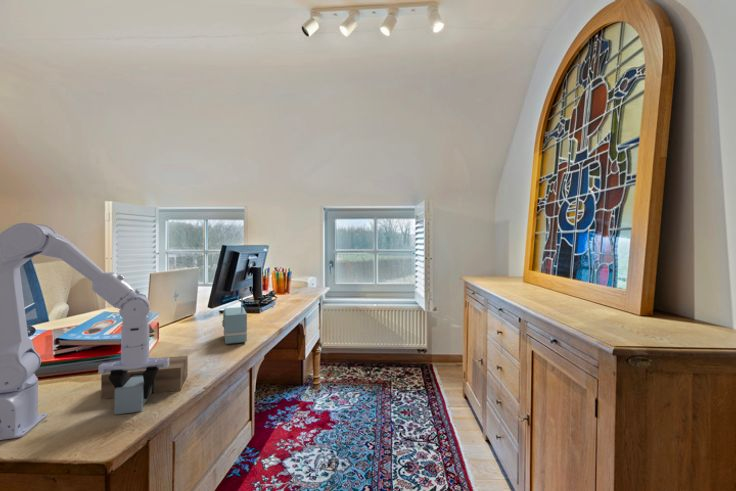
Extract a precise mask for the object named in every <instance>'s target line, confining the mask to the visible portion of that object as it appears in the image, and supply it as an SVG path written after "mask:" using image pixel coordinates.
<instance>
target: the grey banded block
mask: <svg viewBox="0 0 736 491" xmlns="http://www.w3.org/2000/svg"><path fill="white" fill-rule="evenodd" d="M243 298H244V297H243V293H241V300H240V301H241V302H240V303H241V306H239V307H238V306H237V307H236V306H235V307H225V308H223V311H222V313H223V314H222V320H221V323H222V324H221V326H222V327H223V336H224V343H225V344H226V345H235V344H242V343H247V340H248V338H247V337H248V335H247V334H248V332H247V331H248V313H247V312H246V309H245V308H244V306H243V304H244V302H243Z"/></svg>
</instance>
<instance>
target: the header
mask: <svg viewBox="0 0 736 491" xmlns="http://www.w3.org/2000/svg"><path fill="white" fill-rule="evenodd" d="M165 358H169V366H168V368H163V367H160V368H159V369H158V371H157V373H156V376H155V378H154V390H153V392H152V394H160V393H167V392H169V393H170V392H176V391H182V388H183V386H184V384H185V382H186V380H187V379H188V371H189V370H188V368H189V367H188V365H189V364H188V355H181V356H180V355H178V356H168V357H165ZM145 370H146V369H138V370H128V371H127V379H126V383H127V381H128V380H129V379H130V378H131V377H132V376H133V375H134V374H141V373H143V372H144V371H145ZM110 374H111V372H105V373H103V374H100V380H101V381H100V385H101V387H100V388H101V389H100V391H101V392H100V394H101V395H100V398H101V400H105V399H106V400H107V399H115V387H114V385H113V384H112V383H111V381H110V380H109V376H110Z"/></svg>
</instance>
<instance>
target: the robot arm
mask: <svg viewBox="0 0 736 491" xmlns="http://www.w3.org/2000/svg"><path fill="white" fill-rule="evenodd" d="M38 255H41V256H46V257H51V258H56V259H60V260H62V261H63V262H64V263H66V264H67V265H68V266H70V267H71V268H73V269H74V270H75V271H77V273H79V274H81V275H82V276H84V278H86V279H88V280H89V281H91V284H92V287H91V290H92V291H93V292H94V293H95V294H97V295H98V296H99V297H100V298H102V299H103V300H104V301H105V302H106V303H108V304H109V305H111V307H113V308H115V309H119V313H118V314H119V315H120V317H121V318H122V323H121V324H122V326H121V332H120V339H121V341H120V360H117V361H116V360H115V361H111V362H103V363H101V364H100V365H98V366H97V367H98V372H97V373H98V375H102V374H103V373H105V372H111V374H110V376H109V380H110V381H111V383H112V384H113V385H114V387H115V389H116V388H120V387H123V386H124V385H125V384H126V379H127V371H128V370H138V369H146V370H145V371H144V372H143V379H144V399H147V400H148V399H149V398H150V396H151V395H150V390H151V386H152V383H153V380H154V378H155V376H156V373H157V371H158V369H159V368H160V367H163V368H168V366H169V358H166V357H150V323H149V321H150V316H149V313H150V310H151V309H150V308H151V302H150V300H149V299H148V297H147V296H146V294H144V293H141V291H140V289H138V288H136V289H135V288H134V287H133V286H131V285H130V284H129V282H128V283H127V281H125V280H124V279H125V276H124V275H123V274H121V273H120V274H118V273H116V272H106V271H105V270H103V269H102V268H100V267H99V265H98V264H96V263H95V262H94V261H93V260H92V259H91V258H89V256H87V255H86V254H85V253H84V252H83V251H82V250H81V249H79V247H78V246H76V245H75V244H73V242H72V241H70V240H69V239H67V238H66V236H63V235H62V234H60V233H57V232H56V231H55V230H54V228H52V227H50V226H48V225H45V224H38V223H37V224H34V223H30V222H19V223H16V224H13V225H11V226H9V227H8V228H5V229H4V230H3V231H1V232H0V441H4V440H9V439H10V440H11V439H19V438H21V437H23V436H25V435H26V434H27V433H28V432H29V431H31V430H32V429H33V428H34V427H35V426H37V425H38V423H40V422H41V421H42V420H44V419H45V418H46V417H48V413H47V412H44V413H39V378H38V377H37V376H36V371H38V370H39V368H40V366H41V365H42V364H41V363H42V359H41V355H40V354H39V353H38V352H37V351H36V350H35V348H34V347H35V346H34V342H33V341H32V340H31V339H30V337H29V332H28V323H27V317H26V308H25V299H24V292H23V285H22V284H23V283H22V277H21V276H22V275H21V267H22V266H24V265H25V264H26V263H28V262H29V261H30V260H31V259H33V258H34V257H35V256H38ZM149 395H150V396H149ZM148 397H149V398H148Z"/></svg>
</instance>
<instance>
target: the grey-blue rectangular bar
mask: <svg viewBox="0 0 736 491" xmlns="http://www.w3.org/2000/svg"><path fill="white" fill-rule="evenodd" d="M153 392H154V380H153V383H152V386H151V390H150V395H149V397H148V399H149V398H150V396H151V395H152V394H153ZM148 399H144V379H143V373H141V374H134V375H133V376H132V377H131V378H130V379H129V380H128V381H127V383H126V384H125V385H124V386H123V387H120V388H116V389H115V398H114V415H123V414H130V413H131V414H132V413H139V412H143V409H144V405H145V404H146V402H147V400H148Z"/></svg>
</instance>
